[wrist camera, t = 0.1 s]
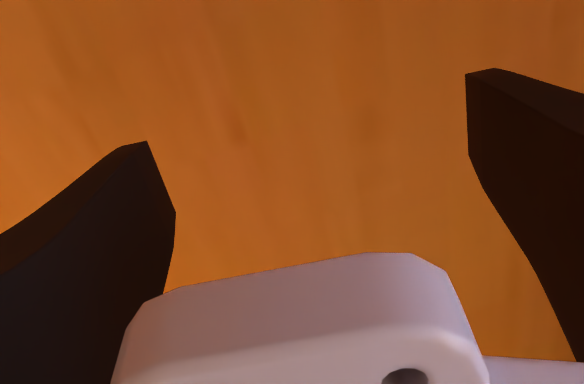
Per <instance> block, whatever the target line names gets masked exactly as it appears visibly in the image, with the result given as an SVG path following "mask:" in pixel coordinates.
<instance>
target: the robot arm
mask: <svg viewBox="0 0 584 384" xmlns="http://www.w3.org/2000/svg"><path fill="white" fill-rule="evenodd" d="M465 85H466V108H467V132H468V155H469V157H470V160H471V162H472V165H473V167H474V169H475V172H476V174H477V176H478V179H479V181H480V183H481V185H482V188H483V189H484V191H485V193H486V194H487V196H488V198H489V199H490V201H491V202H492V204H493V206H494V207H495V209H496V210H497V212H498V213H499V215H500V217H501V218H502V220H503V221H504V223H505V224H506V226H507V227H508V229H509V230H510V232H511V234H512V235H513V237H514V238H515V240H516V241H517V243H518V244H519V246H520V248H521V249H522V251H523V252H524V254H525V255H526V257H527V259H528V260H529V262H530V264H531V266H532V267H533V269H534V271H535V273H536V274H537V276H538V278H539V280H540V283H541V285H542V287H543V289H544V291H545V293H546V295H547V297H548V299H549V301H550V303H551V306H552V308H553V310H554V312H555V314H556V316H557V319H558V321H559V323H560V325H561V327H562V330H563V332H564V334H565V336H566V339H567V341H568V343H569V345H570V348H571V350H572V352H573V354H574V357H575V359H576V362H568V361H554V360H540V359H526V358H512V357H498V356H483V355H481V352H480V350H479V347H478V345H477V342H476V340H475V337H474V335H473V332H472V330H471V327H470V325H469V322H468V320H467V317H466V315H465V313H464V310H463V308H462V305H461V303H460V300H459V298H458V296H457V294H456V292H455V289H454V287H453V285H452V283H451V281H450V279H449V277H448V275H447V273H446V271H445V270H443V269H441V268H439V267H437V266H435V265H433V264H431V263H429V262H428V261H426V260H424V259H422V258H420V257H418V256H416V255H414V254H412V253H376V252H366V253H360V254H355V255H349V256H344V257H339V258H333V259H328V260H322V261H317V262H312V263H306V264H301V265H295V266H290V267H285V268H279V269H274V270H268V271H263V272H258V273H252V274H247V275H241V276H236V277H231V278H225V279H220V280H215V281H209V282H204V283H198V284H193V285H188V286H182V287H179V288H177V289H174V290H172V291H170V292H167V293H165V294H163V291H164V287H165V283H166V279H167V275H168V270H169V266H170V262H171V257H172V252H173V248H174V237H175V220H176V212H175V209H174V207H173V204H172V202H171V199H170V197H169V194H168V192H167V189H166V187H165V184H164V182H163V180H162V177H161V175H160V172H159V170H158V167H157V165H156V162H155V160H154V157H153V155H152V152H151V150H150V147H149V145H148V142H147V141H143V142H138V143H134V144H129V145H124V146H121V147H119V148H117V149H115V150H114V151H112V152H111V153H109V154H108V155H107V156H105V157H104V158H103V159H101V160H100V161H99V162H97V163H96V164H95V165H94V166H92V167H91V168H90V169H89V170H88V171H86V172H85V173H84V174H83V175H81V176H80V177H79V178H78V179H76V180H75V181H74V182H73V183H72V184H70V185H69V186H68V187H67V188H65V189H64V190H63V191H61V192H60V193H59V194H57V195H56V196H55V197H53V198H52V199H51V200H49V201H48V202H47V203H46V204H44V205H43V206H42V207H40V208H39V209H38V210H36V211H35V212H34V213H32V214H31V215H29V216H28V217H26V218H25V219H23V220H22V221H20V222H19V223H17V224H16V225H14V226H13V227H11V228H10V229H8V230H6V231H5V232H3V233H2V234H0V384H584V94H583V93H579V92H576V91H572V90H569V89H565V88H562V87H559V86H555V85H552V84H549V83H546V82H543V81H539V80H536V79H533V78H530V77H527V76H524V75H521V74H517V73H514V72H511V71H507V70H503V69H498V68H491V69H486V70H481V71H477V72H472V73H467V74H465Z"/></svg>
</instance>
